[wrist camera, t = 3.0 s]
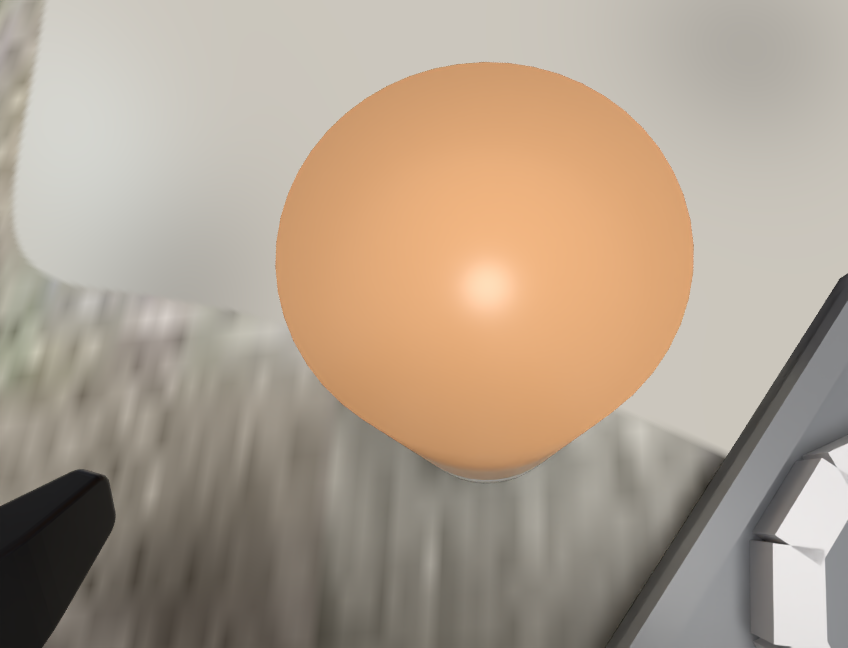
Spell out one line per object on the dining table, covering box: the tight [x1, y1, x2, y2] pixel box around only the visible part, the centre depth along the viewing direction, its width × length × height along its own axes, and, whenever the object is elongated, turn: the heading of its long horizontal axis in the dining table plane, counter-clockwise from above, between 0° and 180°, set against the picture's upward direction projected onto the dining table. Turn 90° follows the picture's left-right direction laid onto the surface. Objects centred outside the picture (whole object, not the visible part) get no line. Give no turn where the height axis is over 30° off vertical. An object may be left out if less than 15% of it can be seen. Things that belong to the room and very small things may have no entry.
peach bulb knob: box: [276, 62, 694, 483], centre depth 14 cm, size 5×5×13 cm
